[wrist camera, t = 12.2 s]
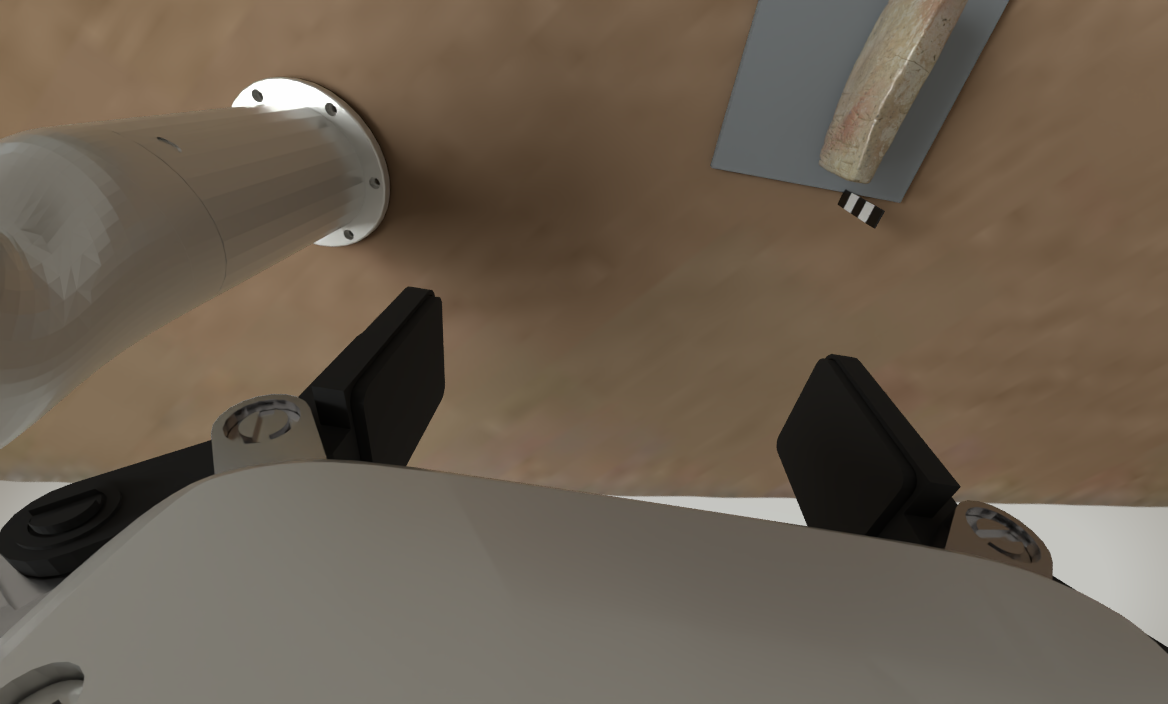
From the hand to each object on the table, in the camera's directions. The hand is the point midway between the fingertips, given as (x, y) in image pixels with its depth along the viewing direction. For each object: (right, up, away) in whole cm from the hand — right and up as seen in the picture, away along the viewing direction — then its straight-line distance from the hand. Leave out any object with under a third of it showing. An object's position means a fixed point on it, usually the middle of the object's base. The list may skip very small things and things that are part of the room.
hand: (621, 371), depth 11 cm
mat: (+16, +19, +18) cm, 31 cm away
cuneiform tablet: (+17, +17, +19) cm, 31 cm away
